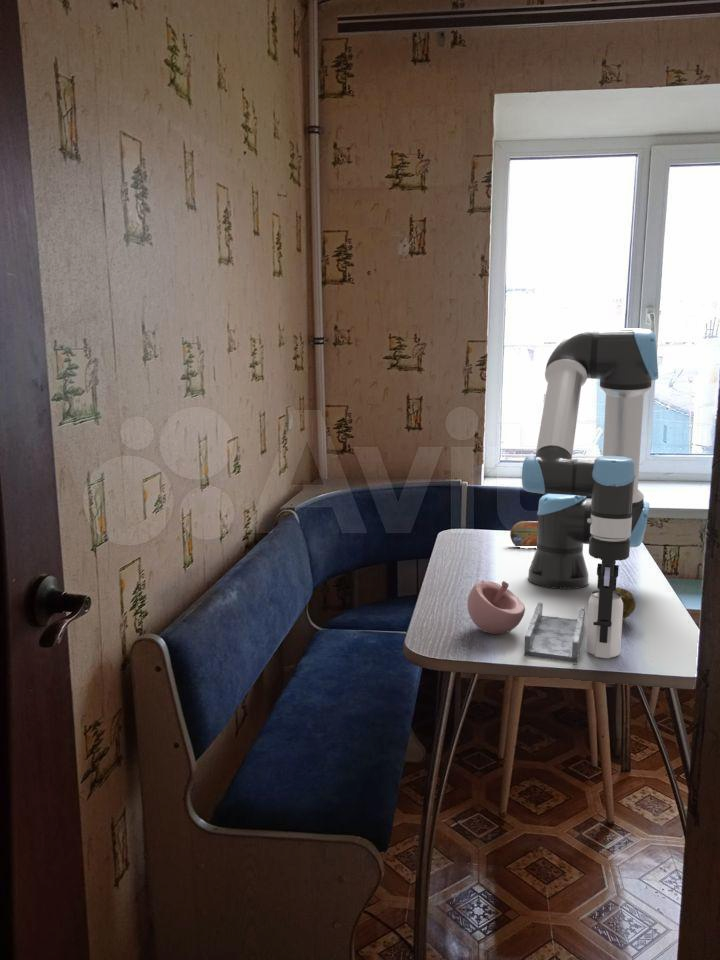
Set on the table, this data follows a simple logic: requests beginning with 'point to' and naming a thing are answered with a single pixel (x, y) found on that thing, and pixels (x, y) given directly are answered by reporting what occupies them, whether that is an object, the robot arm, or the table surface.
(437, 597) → the table surface
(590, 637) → the can
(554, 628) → the track
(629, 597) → the potato
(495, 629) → the mortar and pestle
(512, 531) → the tin
